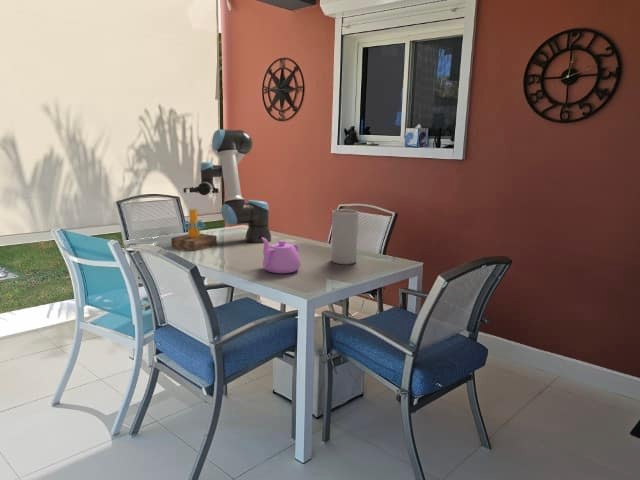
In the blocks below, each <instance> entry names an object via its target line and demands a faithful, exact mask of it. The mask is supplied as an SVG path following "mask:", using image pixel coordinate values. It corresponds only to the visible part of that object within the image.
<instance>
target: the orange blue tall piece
mask: <svg viewBox="0 0 640 480" xmlns="http://www.w3.org/2000/svg"><path fill="white" fill-rule="evenodd" d="M187 224H188V226H187ZM200 224H201V225H200ZM182 227H183V228H184V230H186V231H187V232H188V233H187V234H188V237H190V238H198V237H200V234H201V233H200V231H201V230H203V229H205V227H206V224H205V223H204V222H203V221H202V220H198V209H196V208H192V209H189V221H187V220H185V221H183V222H182Z"/></svg>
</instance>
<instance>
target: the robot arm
mask: <svg viewBox="0 0 640 480" xmlns="http://www.w3.org/2000/svg"><path fill="white" fill-rule="evenodd" d="M211 143H212V144H211V146H212V150H213V151H216V155H218V157H219V158H220V162H221V163H220V164H214V163H213V162H211V161H204V162H201V163H200V168H199V170H200V183H199V184H198V185H197V186H195V187H193V186H192V187H185V188H183V189H182V190H183V193H185V195H189V194H190V193H197V194H200V195H201V196H207V195H213V194H218V193H219V188H217V187H215V185H214V178H223V184H224V186H223V187H224V194H225V199H224V200H223V204H222V206H221V209H220V210H221V211H220V212H221V217H222V219H223V221H224V222H225V224H227V225H230V226H232V225H233V226H236V225H244V224H245V225H248V226H247V231H246V234H245V239H244V240H245V242H247V243H254V244H259V243H260V244H261V243H263V244H264V242H263V239H262V237H264V238H265V239H267V241H268V243H269V242H271V241H272V234H271V232H270V228H269V219H270V218H269V211H270V207H269V203H268V201H267V202H266V201H262V200H255V199H249V200H248V201H247V202H246V201H245V198H244V197H243V196H242V192H241V191H242V190H241V184H240V183H241V182H240V176H239V170H238V169H239V168H238V165H239V163H240V162H241V161H242V159H243V158H245V155H247V154H249V153H250V152H251V150H252V148H253V138H252V137H251V135H250V133H248V132H247V131H245V130H242V129H225V128H224V129H217V130H215V131H214V132H213V135H212V140H211Z"/></svg>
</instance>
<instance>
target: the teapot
mask: <svg viewBox="0 0 640 480" xmlns="http://www.w3.org/2000/svg"><path fill="white" fill-rule="evenodd" d="M262 239H263V242H264V243H263V249H262V250H263V251H262V253H263V261H262V265H263V269H264V270H266V271H267V272H270V273H273V274H280V275H284V274H290V273H295V272H296V271H297V270H298V269H299V268H300V267H301V265H302V264H301V262H302V260H301V257H300V255H299V253H298V252H299V247H298V245H297V244H296V243H288V242H287V241H286V240H284V239H281V240H278V241H277V242H276V243H272V244H271V245H270V246H269V242H268V241H267V239H265V238H264V237H262Z"/></svg>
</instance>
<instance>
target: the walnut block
mask: <svg viewBox="0 0 640 480" xmlns="http://www.w3.org/2000/svg"><path fill="white" fill-rule="evenodd" d="M170 239H171V248H174V249H181V250H186V251H187V250H188V251H194V252H195V251H199V250H202V249H203V250H204V249H207V248H209V247H213V246H217V243H218V242H217V241H218V239H217V235H213V234H207V233H206V234H205V233H200V237H198V238H190V237H188V233H187V234H183V235H179V236H175V237H171V238H170Z"/></svg>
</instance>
